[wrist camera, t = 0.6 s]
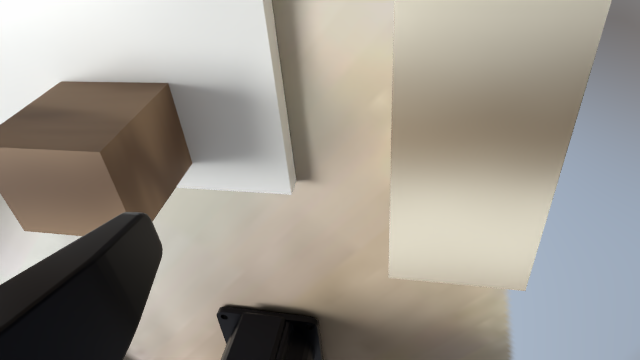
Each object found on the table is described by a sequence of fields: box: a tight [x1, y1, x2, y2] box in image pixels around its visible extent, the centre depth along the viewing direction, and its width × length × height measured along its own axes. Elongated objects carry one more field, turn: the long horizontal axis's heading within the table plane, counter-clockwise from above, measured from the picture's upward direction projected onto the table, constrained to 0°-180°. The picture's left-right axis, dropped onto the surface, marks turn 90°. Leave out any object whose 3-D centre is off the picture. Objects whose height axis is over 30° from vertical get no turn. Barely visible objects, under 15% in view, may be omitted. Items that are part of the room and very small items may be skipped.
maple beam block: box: [388, 0, 612, 291], centre depth 14 cm, size 12×4×6 cm, turn 5°
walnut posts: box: [0, 81, 192, 236], centre depth 15 cm, size 14×5×5 cm, turn 5°
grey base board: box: [0, 0, 296, 195], centre depth 18 cm, size 17×14×1 cm
